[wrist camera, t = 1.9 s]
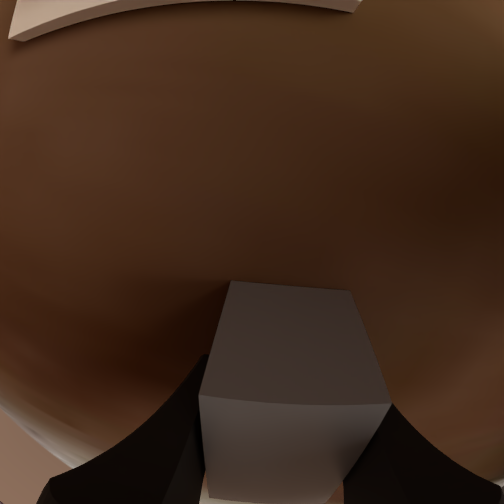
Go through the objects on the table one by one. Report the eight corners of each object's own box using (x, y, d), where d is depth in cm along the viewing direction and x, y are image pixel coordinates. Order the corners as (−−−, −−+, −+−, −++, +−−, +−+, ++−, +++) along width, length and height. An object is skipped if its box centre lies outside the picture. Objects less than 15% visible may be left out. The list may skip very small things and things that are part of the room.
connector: (350, 290, 10) (392, 403, 5) (317, 405, 12) (324, 503, 8) (231, 280, 10) (198, 394, 6) (227, 399, 12) (209, 497, 8)
